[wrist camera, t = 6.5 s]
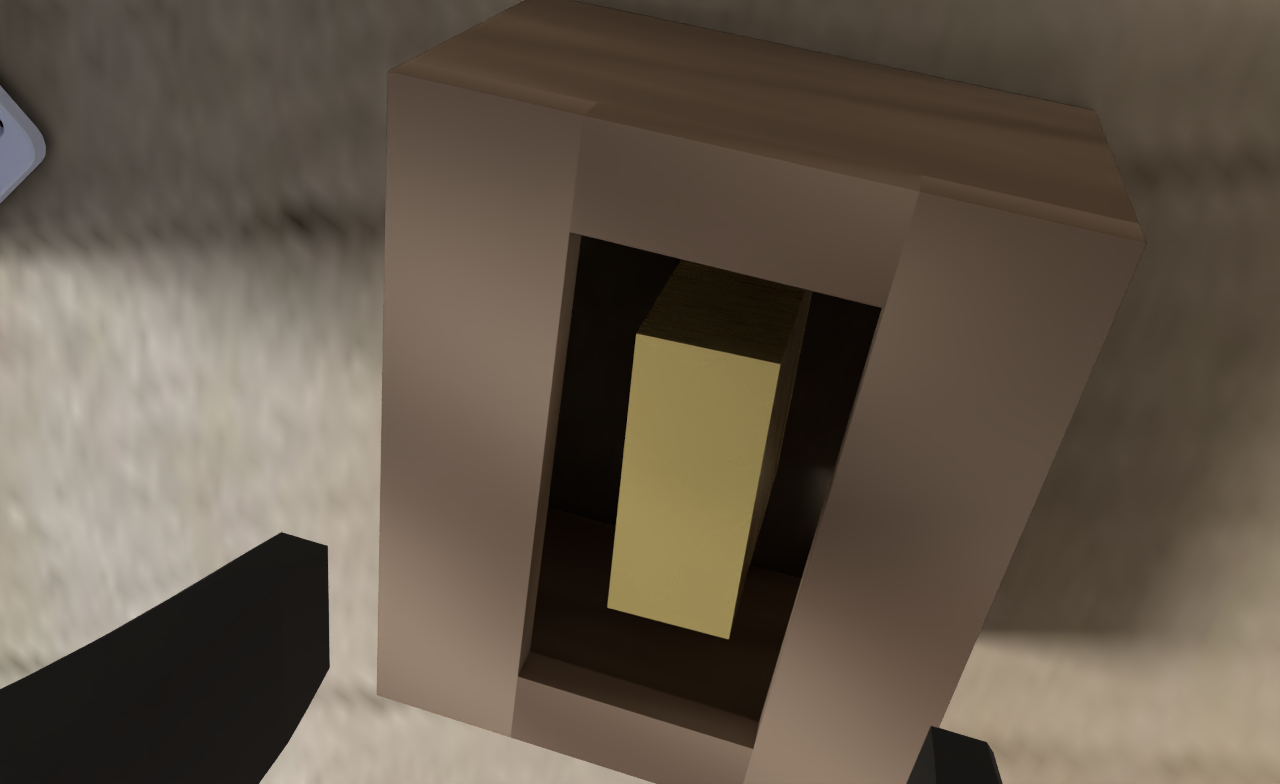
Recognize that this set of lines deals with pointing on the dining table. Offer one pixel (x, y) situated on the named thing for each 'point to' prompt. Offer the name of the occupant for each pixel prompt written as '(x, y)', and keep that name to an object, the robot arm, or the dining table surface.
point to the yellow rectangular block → (703, 443)
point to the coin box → (756, 246)
